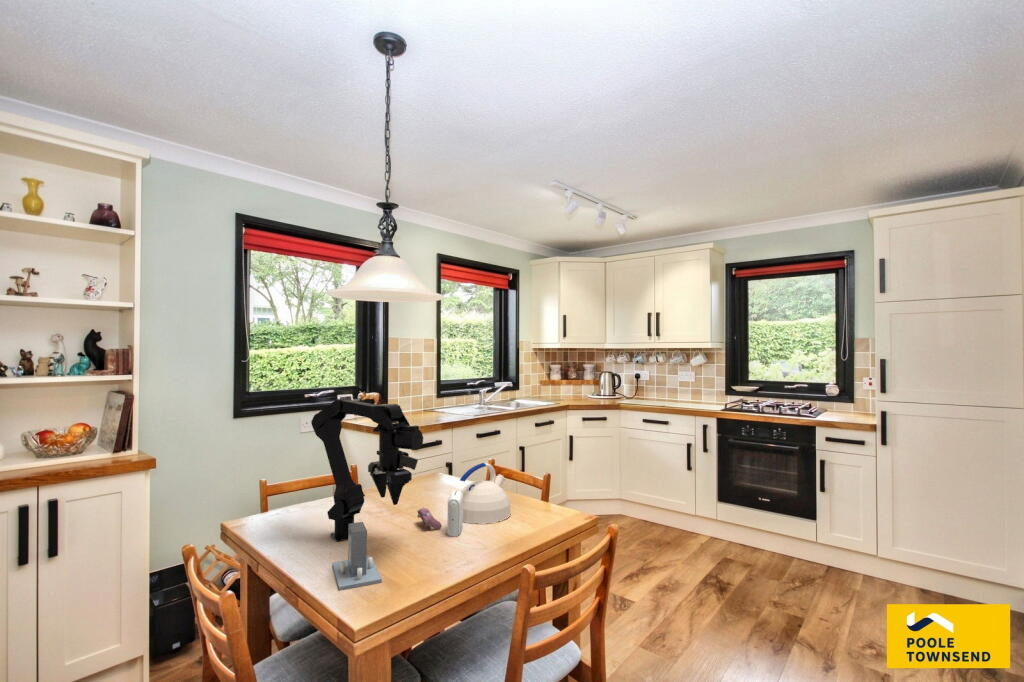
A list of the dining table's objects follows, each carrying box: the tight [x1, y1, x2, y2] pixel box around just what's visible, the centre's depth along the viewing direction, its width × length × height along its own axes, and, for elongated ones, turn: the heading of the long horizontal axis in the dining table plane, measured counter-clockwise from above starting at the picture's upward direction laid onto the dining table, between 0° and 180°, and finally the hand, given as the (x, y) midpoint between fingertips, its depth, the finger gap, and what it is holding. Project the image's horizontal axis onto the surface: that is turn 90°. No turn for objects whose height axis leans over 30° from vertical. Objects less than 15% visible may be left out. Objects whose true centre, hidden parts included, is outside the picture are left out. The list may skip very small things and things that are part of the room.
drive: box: [347, 521, 368, 577], centre depth 124 cm, size 7×4×11 cm, turn 26°
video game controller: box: [417, 507, 443, 530], centre depth 159 cm, size 10×5×7 cm, turn 28°
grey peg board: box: [332, 555, 383, 591], centre depth 124 cm, size 15×10×3 cm, turn 26°
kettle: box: [459, 462, 512, 525], centre depth 171 cm, size 20×21×18 cm
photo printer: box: [446, 489, 464, 537], centre depth 155 cm, size 10×4×12 cm, turn 0°
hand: (389, 500), depth 142 cm, fingers open, 9 cm apart
